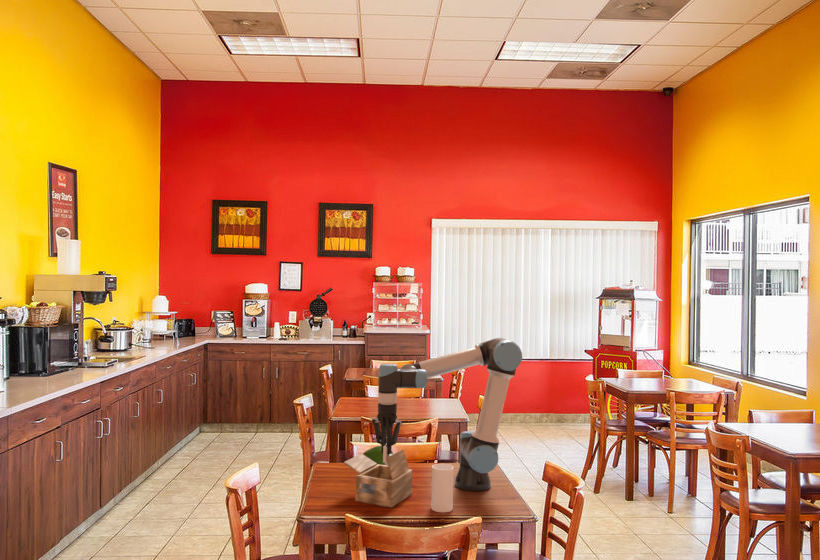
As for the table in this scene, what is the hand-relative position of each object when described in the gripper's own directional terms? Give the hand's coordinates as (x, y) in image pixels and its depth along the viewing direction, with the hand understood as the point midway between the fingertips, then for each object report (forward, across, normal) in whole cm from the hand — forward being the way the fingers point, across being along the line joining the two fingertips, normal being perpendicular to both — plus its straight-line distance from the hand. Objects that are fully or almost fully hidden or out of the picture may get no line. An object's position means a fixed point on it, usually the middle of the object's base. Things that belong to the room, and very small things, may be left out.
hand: (386, 461), depth 249 cm
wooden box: (+14, 0, 0) cm, 14 cm away
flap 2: (+4, -7, 0) cm, 8 cm away
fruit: (+15, +23, -35) cm, 44 cm away
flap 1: (+4, +8, 0) cm, 9 cm away
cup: (+15, -24, 0) cm, 29 cm away
